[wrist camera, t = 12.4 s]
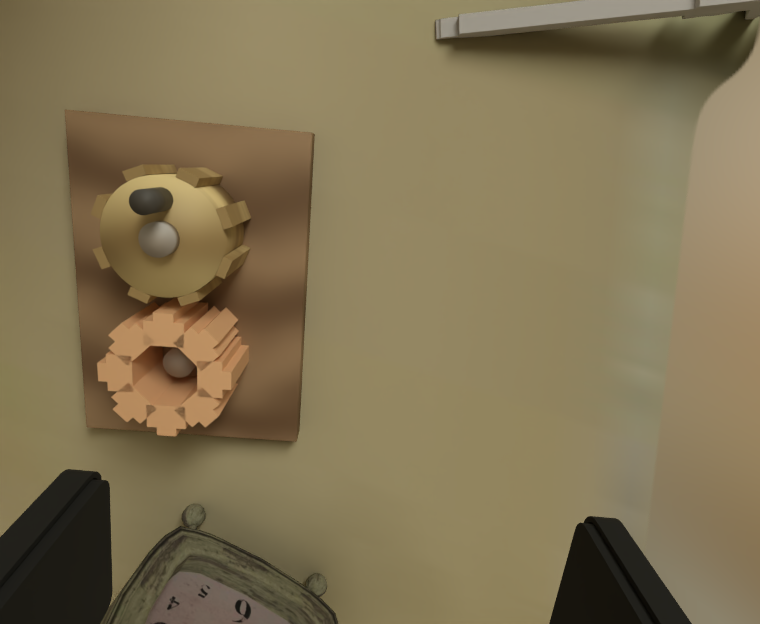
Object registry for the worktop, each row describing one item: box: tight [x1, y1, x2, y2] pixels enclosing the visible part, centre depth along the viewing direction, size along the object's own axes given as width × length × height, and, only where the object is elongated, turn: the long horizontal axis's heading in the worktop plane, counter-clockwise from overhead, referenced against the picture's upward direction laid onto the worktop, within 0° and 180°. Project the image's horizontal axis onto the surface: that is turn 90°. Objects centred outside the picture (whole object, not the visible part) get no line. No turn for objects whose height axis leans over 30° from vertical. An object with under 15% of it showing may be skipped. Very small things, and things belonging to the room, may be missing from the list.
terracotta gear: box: [97, 297, 249, 436], centre depth 32 cm, size 7×7×4 cm
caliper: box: [435, 0, 760, 39], centre depth 28 cm, size 20×1×6 cm, turn 94°
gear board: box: [65, 110, 315, 441], centre depth 30 cm, size 20×14×8 cm
